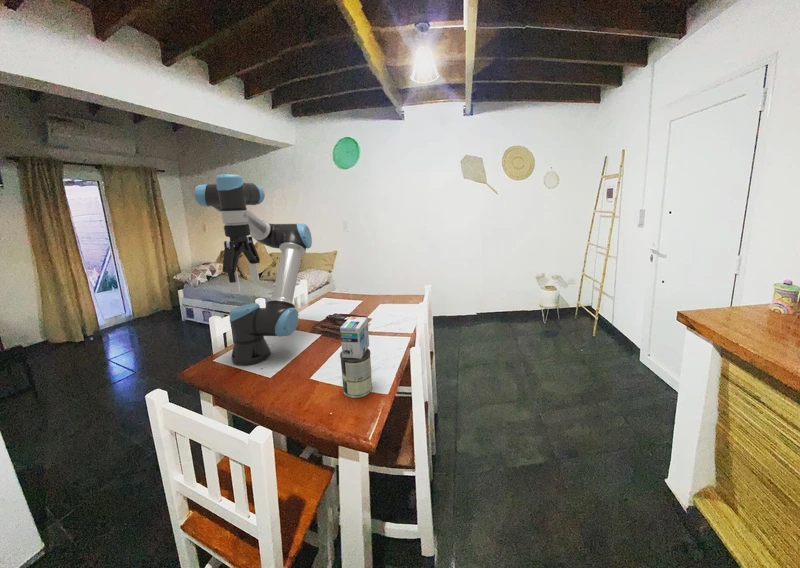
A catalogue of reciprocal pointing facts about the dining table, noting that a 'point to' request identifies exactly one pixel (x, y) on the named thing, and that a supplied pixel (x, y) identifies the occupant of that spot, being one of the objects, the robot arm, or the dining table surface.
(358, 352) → the light bulb box
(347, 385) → the coffee can
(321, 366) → the dining table surface
